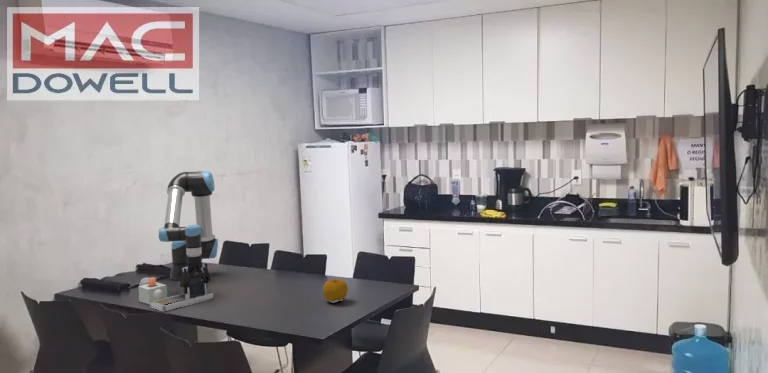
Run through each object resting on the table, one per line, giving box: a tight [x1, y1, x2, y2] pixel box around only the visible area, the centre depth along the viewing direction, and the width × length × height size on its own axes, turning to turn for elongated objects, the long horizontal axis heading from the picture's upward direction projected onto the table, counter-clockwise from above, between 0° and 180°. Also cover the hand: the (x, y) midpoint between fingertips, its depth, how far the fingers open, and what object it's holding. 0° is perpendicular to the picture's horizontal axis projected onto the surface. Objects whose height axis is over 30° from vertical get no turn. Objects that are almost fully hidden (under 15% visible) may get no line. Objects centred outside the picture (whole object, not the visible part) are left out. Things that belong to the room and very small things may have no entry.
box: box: [188, 277, 205, 298], centre depth 302 cm, size 8×6×11 cm
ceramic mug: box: [138, 277, 150, 286], centre depth 317 cm, size 11×8×8 cm
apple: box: [322, 278, 349, 301], centre depth 293 cm, size 13×13×11 cm
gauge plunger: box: [148, 276, 157, 287], centre depth 300 cm, size 4×4×7 cm
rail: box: [149, 292, 214, 313], centre depth 296 cm, size 28×12×3 cm, turn 141°
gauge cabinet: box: [137, 281, 168, 306], centre depth 300 cm, size 10×10×8 cm
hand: (196, 297), depth 302 cm, fingers closed on box, 9 cm apart
